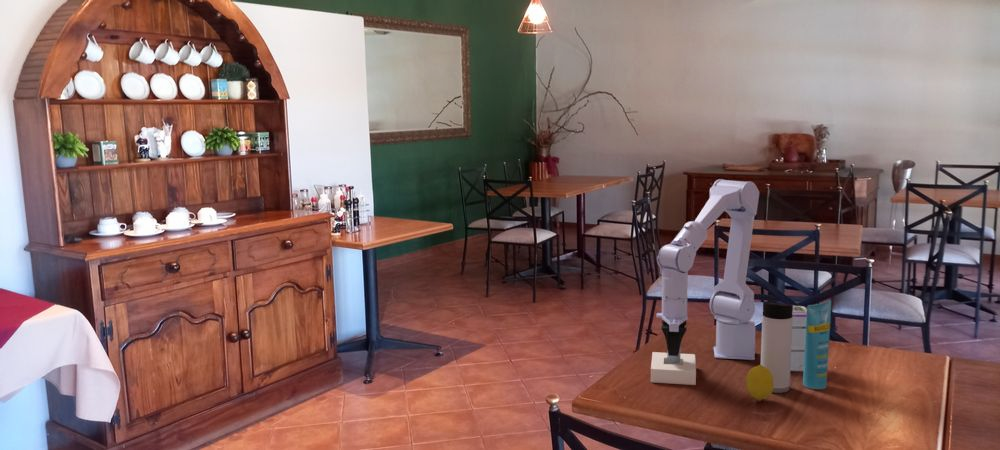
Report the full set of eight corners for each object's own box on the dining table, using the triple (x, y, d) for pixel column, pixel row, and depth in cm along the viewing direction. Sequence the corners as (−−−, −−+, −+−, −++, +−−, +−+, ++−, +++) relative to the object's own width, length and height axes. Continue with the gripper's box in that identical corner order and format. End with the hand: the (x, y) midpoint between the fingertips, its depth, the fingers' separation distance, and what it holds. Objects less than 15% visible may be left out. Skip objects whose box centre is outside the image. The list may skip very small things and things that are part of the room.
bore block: (694, 367, 184) (694, 354, 184) (695, 385, 173) (696, 371, 172) (652, 364, 187) (652, 352, 186) (650, 382, 175) (650, 368, 175)
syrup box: (809, 371, 180) (811, 312, 177) (782, 370, 181) (785, 311, 178) (803, 363, 185) (806, 305, 183) (778, 362, 186) (780, 304, 184)
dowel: (679, 359, 180) (681, 330, 179) (680, 363, 177) (681, 334, 176) (666, 358, 181) (667, 330, 180) (667, 362, 178) (668, 334, 177)
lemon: (776, 405, 160) (778, 369, 159) (750, 406, 160) (751, 369, 159) (768, 395, 166) (769, 360, 165) (742, 396, 166) (743, 360, 165)
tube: (814, 392, 167) (818, 307, 164) (794, 386, 171) (798, 302, 168) (834, 385, 171) (838, 302, 168) (815, 379, 175) (819, 297, 172)
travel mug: (757, 391, 168) (760, 303, 165) (762, 381, 174) (765, 296, 171) (787, 395, 166) (791, 306, 162) (791, 385, 171) (795, 298, 168)
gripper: (657, 288, 185) (656, 342, 187) (656, 303, 171) (655, 362, 173) (687, 289, 183) (686, 343, 185) (688, 305, 169) (687, 363, 171)
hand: (673, 352), depth 179 cm, fingers closed on dowel, 3 cm apart
